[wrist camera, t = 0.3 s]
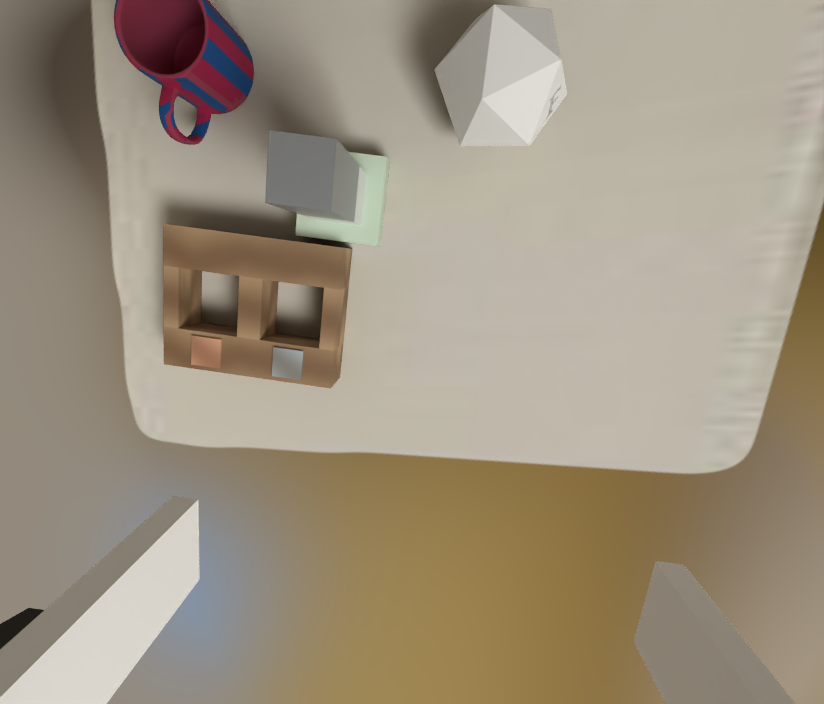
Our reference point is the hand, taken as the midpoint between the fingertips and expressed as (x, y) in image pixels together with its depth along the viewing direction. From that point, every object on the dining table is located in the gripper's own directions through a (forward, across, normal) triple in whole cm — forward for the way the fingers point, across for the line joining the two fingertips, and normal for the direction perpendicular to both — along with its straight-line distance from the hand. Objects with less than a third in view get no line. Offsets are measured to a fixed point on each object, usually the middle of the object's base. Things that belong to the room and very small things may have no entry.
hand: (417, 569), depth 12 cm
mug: (+28, -21, +20) cm, 40 cm away
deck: (+27, -9, +13) cm, 31 cm away
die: (+28, +3, +22) cm, 35 cm away
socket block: (+27, -16, +3) cm, 32 cm away
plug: (+25, -9, +13) cm, 30 cm away
